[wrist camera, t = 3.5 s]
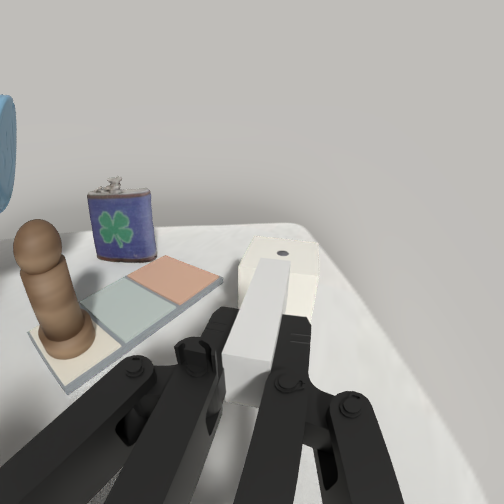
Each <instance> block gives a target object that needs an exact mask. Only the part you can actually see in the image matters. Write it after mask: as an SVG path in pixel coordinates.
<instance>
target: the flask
mask: <svg viewBox="0 0 504 504" xmlns="http://www.w3.org/2000/svg"><path fill="white" fill-rule="evenodd" d="M121 180H122V178H121V177H116V178H115V177H112V178H108V179H107V181H109V182H110V183H111V184H110V185H109V186H107V187H106V188H105V187H102V186H101V187H99V188H98V189H95V190H94V191H91V192H89V193H88V195H87V198H88V205H89V212H90V219H91V224H92V231H93V238H94V243H95V248H96V253H97V258H98V259H101V260H106V261H111V262H120V261H121V262H131V263H132V262H136V263H137V262H139V263H143V262H150V261H151V262H152V261H153V260H155V259H156V258H155V257H154V256H156V257H157V250H156V243H155V237H154V227H153V222H152V209H151V193H150V190H149V189H147V188H142V189H127V190H120V183H119V182H120V181H121ZM102 188H103V189H102Z"/></svg>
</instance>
